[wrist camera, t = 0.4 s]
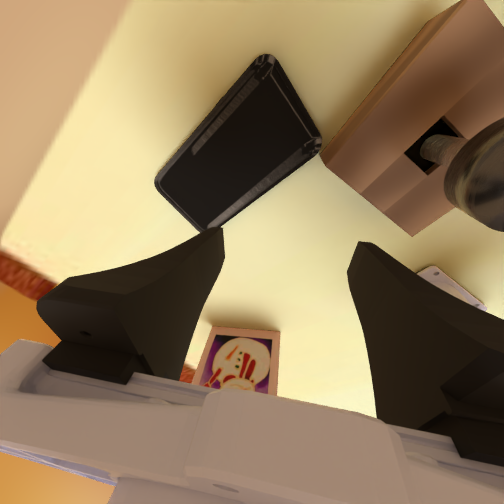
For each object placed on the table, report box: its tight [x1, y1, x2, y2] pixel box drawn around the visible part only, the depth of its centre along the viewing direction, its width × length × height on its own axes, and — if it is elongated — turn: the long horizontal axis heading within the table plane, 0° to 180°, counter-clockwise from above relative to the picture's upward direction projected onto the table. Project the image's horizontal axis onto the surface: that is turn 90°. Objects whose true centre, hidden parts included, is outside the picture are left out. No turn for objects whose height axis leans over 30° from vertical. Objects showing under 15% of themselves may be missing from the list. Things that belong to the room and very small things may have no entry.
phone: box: [154, 54, 322, 233], centre depth 19 cm, size 8×1×15 cm
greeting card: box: [191, 326, 280, 396], centre depth 29 cm, size 11×7×15 cm, turn 96°
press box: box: [320, 0, 504, 236], centre depth 14 cm, size 9×9×4 cm
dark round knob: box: [420, 117, 504, 232], centre depth 10 cm, size 4×4×7 cm
